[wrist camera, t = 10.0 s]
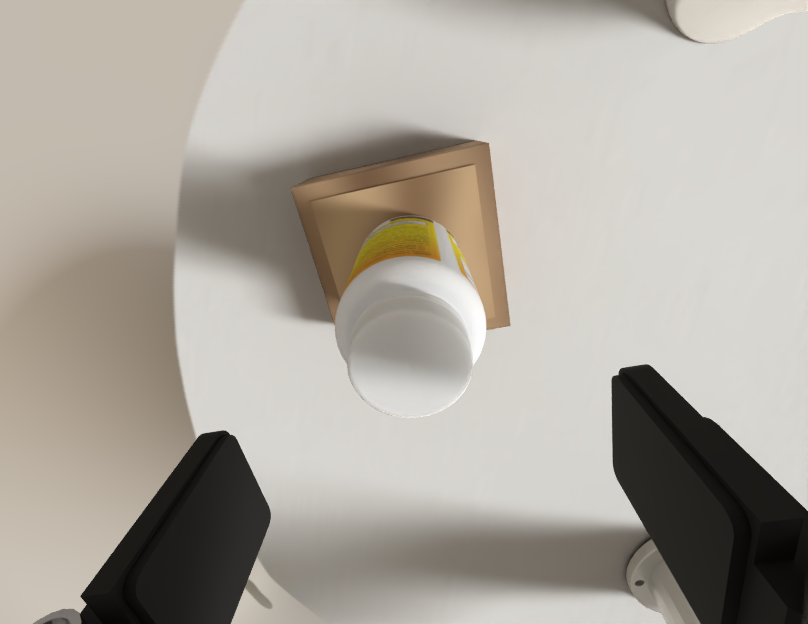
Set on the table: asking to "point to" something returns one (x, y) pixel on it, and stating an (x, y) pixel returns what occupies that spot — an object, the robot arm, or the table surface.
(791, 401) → the table surface
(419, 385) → the supplement bottle
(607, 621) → the table surface
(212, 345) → the table surface
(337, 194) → the base
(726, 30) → the beer glass
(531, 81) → the table surface
